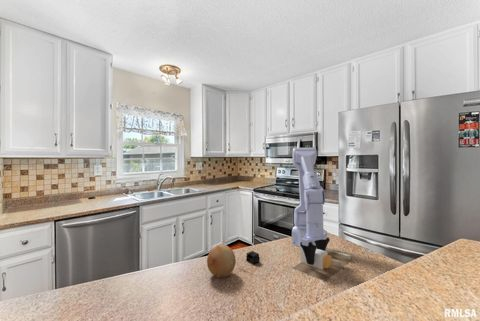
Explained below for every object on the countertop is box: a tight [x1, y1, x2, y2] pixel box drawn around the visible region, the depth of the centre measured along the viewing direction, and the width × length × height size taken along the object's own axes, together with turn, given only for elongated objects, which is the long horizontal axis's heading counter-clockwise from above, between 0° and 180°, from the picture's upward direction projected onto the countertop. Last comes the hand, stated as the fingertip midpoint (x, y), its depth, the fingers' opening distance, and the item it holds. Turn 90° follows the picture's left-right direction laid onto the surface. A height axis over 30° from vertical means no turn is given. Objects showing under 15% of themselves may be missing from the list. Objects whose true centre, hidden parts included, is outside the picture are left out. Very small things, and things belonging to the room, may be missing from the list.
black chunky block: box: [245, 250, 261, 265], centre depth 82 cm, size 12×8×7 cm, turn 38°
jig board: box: [292, 248, 353, 282], centre depth 79 cm, size 12×22×3 cm, turn 134°
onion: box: [206, 243, 237, 278], centre depth 74 cm, size 10×10×10 cm
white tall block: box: [300, 248, 332, 270], centre depth 78 cm, size 10×4×5 cm, turn 44°
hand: (315, 260), depth 78 cm, fingers open, 7 cm apart
